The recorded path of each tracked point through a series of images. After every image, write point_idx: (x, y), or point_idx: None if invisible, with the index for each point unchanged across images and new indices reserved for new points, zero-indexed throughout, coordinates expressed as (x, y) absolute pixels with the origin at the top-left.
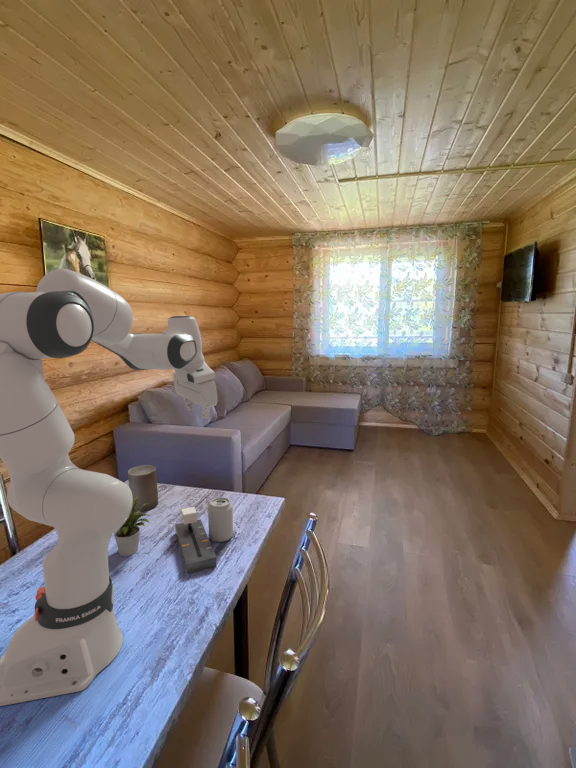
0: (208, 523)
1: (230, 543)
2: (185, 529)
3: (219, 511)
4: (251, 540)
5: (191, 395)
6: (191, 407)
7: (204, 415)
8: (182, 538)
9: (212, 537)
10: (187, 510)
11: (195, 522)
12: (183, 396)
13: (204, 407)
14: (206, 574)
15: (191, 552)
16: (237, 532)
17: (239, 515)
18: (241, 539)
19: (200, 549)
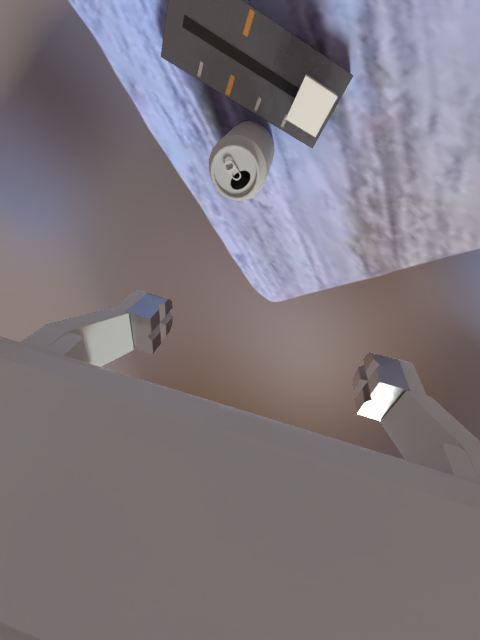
0: (260, 132)
1: None
2: None
3: (215, 148)
4: (201, 182)
5: (131, 483)
6: (366, 383)
7: (123, 303)
8: (281, 40)
9: (245, 122)
10: (315, 105)
11: None
12: (446, 488)
13: (32, 340)
14: (160, 13)
15: (211, 12)
16: None
17: (280, 230)
18: None
19: (207, 46)
